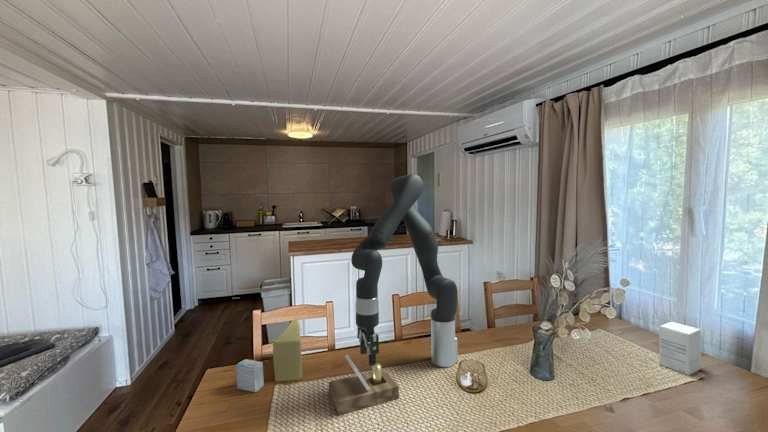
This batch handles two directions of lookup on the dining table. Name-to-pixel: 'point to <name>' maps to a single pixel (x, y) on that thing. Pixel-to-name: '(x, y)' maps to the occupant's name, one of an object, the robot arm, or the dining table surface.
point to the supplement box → (680, 347)
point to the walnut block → (361, 392)
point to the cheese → (288, 354)
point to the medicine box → (249, 375)
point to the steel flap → (357, 372)
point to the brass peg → (376, 374)
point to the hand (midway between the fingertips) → (367, 359)
